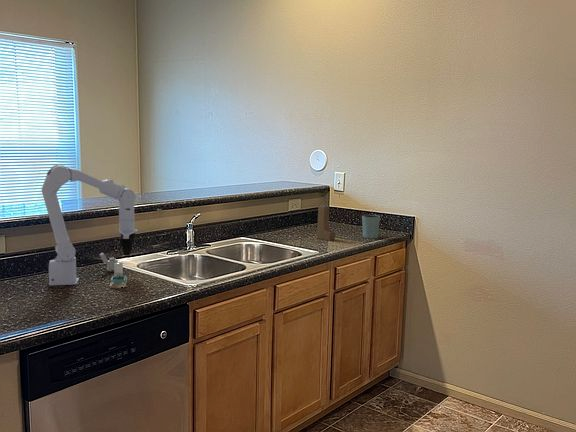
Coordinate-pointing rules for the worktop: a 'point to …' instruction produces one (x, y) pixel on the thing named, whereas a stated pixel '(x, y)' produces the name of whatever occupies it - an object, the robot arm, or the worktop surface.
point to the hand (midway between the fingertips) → (127, 253)
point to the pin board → (118, 282)
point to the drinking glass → (370, 226)
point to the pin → (118, 270)
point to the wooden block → (324, 224)
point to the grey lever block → (108, 261)
